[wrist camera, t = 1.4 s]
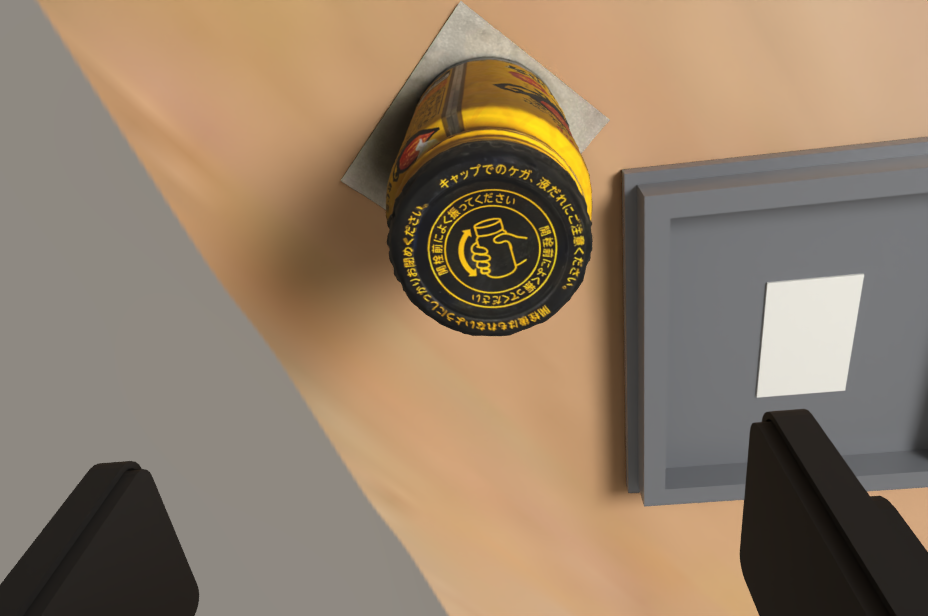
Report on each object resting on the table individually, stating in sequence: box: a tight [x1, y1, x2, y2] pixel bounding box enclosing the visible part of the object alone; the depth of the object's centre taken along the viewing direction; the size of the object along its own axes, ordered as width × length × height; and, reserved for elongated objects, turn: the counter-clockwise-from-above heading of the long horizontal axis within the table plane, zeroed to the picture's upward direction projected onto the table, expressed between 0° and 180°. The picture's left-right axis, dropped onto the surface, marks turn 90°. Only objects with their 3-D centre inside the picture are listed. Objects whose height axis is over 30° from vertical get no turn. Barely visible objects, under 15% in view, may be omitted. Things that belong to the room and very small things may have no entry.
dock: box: [622, 137, 928, 506], centre depth 31 cm, size 17×16×2 cm
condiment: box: [341, 1, 610, 336], centre depth 23 cm, size 7×8×12 cm
